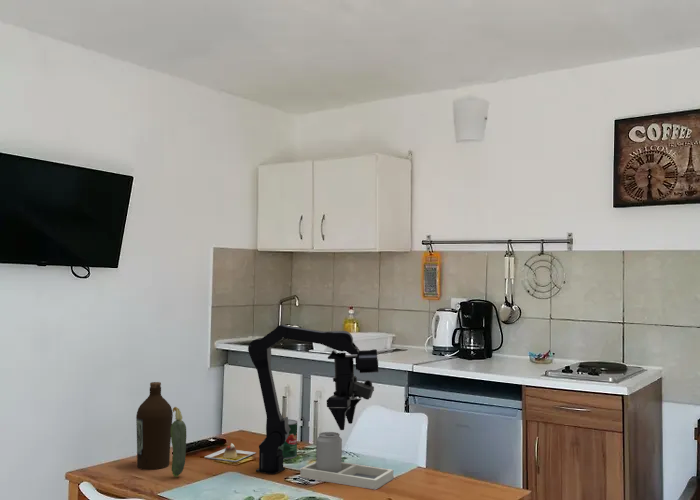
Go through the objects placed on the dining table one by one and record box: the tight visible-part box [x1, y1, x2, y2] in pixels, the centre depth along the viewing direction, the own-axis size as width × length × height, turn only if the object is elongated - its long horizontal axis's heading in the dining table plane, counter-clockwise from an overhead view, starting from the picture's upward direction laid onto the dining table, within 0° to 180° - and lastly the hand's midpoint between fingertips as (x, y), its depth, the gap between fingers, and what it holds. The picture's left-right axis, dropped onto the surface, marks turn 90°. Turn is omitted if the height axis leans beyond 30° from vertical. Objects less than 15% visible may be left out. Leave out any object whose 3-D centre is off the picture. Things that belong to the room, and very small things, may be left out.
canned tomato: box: [279, 418, 298, 460], centre depth 216 cm, size 8×8×11 cm
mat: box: [352, 473, 378, 479], centre depth 189 cm, size 10×10×1 cm
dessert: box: [204, 442, 257, 463], centre depth 215 cm, size 12×12×5 cm
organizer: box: [299, 461, 394, 490], centre depth 192 cm, size 24×12×2 cm, turn 63°
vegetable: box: [171, 406, 187, 478], centre depth 190 cm, size 4×4×20 cm
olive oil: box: [135, 381, 174, 471], centre depth 203 cm, size 11×11×25 cm
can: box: [315, 431, 343, 473], centre depth 195 cm, size 8×8×12 cm
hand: (346, 426), depth 197 cm, fingers open, 9 cm apart
